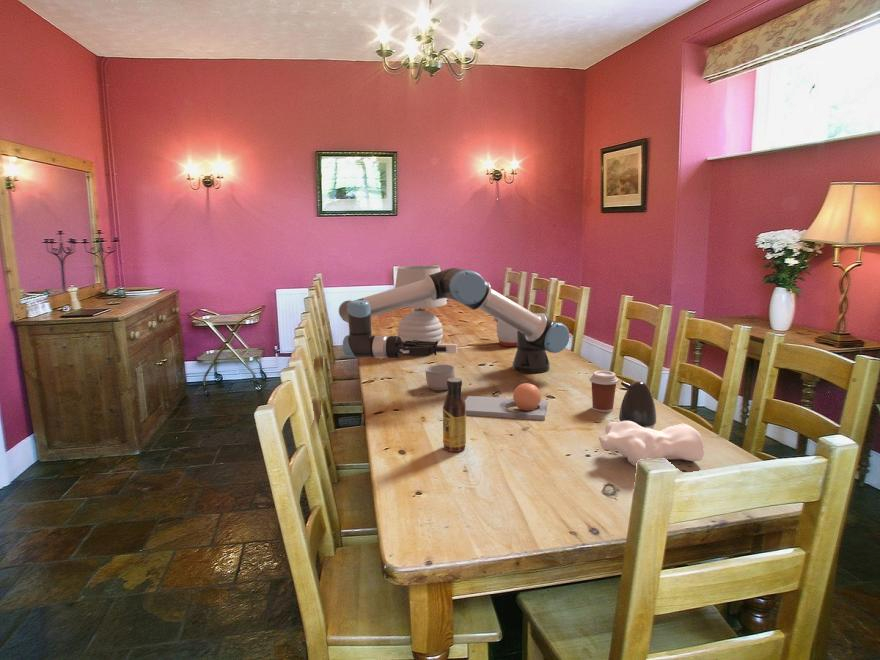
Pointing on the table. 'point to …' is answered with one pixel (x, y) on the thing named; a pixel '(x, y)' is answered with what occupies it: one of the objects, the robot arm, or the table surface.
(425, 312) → the table lamp
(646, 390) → the black egg shaped figurine
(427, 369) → the teacup
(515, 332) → the citrus juicer
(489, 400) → the board
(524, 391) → the ball
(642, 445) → the torso sculpture
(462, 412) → the sauce bottle
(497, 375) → the table surface
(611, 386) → the coffee cup
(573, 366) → the table surface
